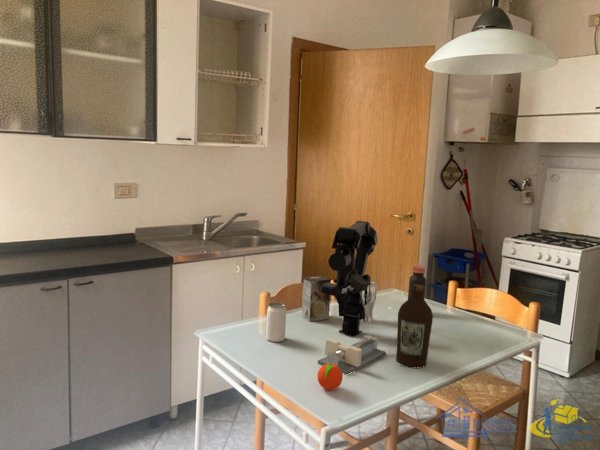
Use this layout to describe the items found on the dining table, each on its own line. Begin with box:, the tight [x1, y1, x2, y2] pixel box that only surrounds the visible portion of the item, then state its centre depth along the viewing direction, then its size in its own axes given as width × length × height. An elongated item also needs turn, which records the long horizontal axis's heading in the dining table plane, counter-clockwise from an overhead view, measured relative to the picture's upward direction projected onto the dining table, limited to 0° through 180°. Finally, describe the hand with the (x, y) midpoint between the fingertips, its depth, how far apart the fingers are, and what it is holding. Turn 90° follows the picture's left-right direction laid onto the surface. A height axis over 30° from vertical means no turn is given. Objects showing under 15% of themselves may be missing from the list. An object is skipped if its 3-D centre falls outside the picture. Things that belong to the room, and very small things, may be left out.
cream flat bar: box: [324, 337, 362, 367], centre depth 151 cm, size 2×12×5 cm, turn 50°
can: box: [265, 302, 287, 343], centre depth 169 cm, size 6×6×12 cm
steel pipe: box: [326, 335, 379, 367], centre depth 156 cm, size 22×4×4 cm, turn 140°
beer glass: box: [360, 281, 378, 324], centre depth 193 cm, size 7×7×15 cm
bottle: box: [407, 265, 427, 301], centre depth 205 cm, size 7×7×20 cm
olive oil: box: [395, 284, 434, 369], centre depth 155 cm, size 11×11×25 cm
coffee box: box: [301, 275, 332, 322], centre depth 193 cm, size 9×6×16 cm
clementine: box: [316, 363, 343, 391], centre depth 135 cm, size 8×7×7 cm
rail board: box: [317, 343, 387, 375], centre depth 156 cm, size 22×11×1 cm, turn 140°
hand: (342, 310), depth 166 cm, fingers closed
